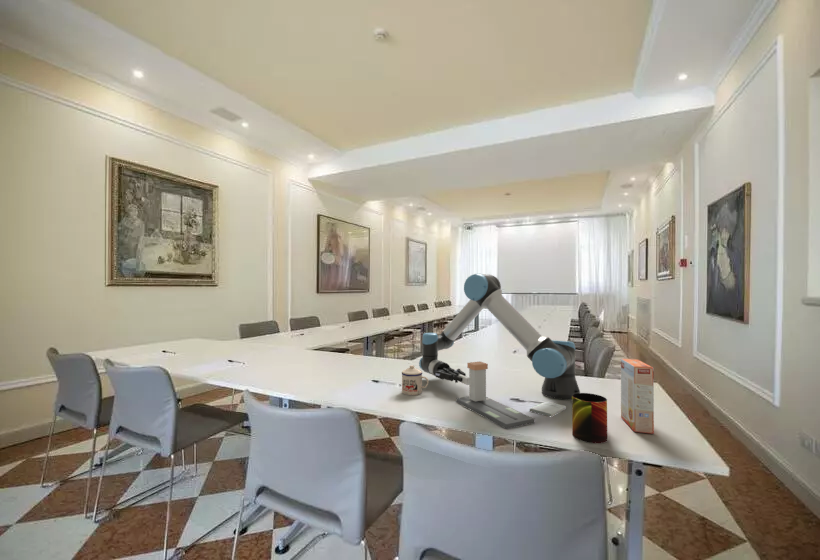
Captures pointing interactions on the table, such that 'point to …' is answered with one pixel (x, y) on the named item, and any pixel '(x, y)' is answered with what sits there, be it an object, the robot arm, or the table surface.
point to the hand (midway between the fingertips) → (468, 381)
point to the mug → (589, 417)
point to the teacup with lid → (412, 381)
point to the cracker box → (637, 395)
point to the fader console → (496, 412)
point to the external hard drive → (548, 408)
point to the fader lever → (477, 380)
